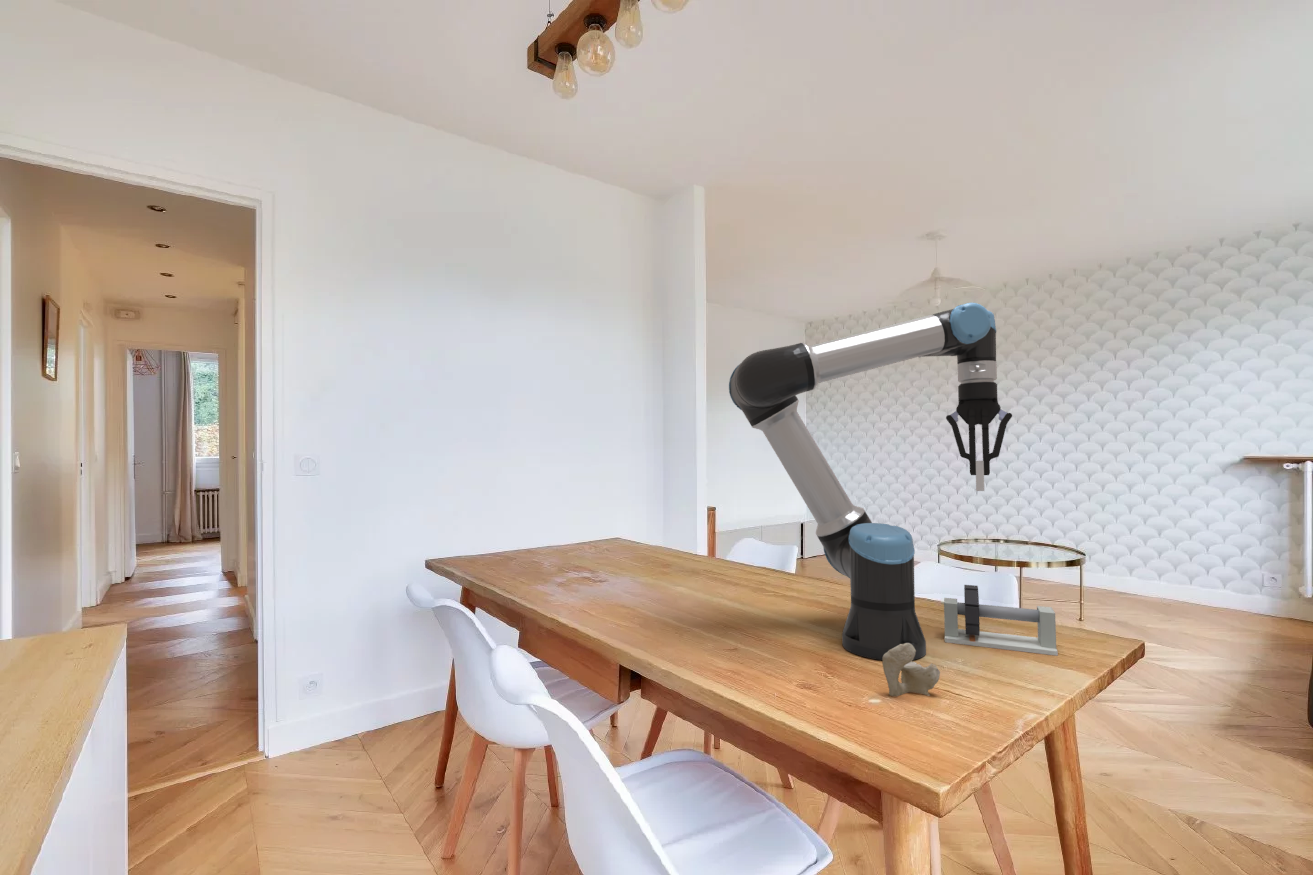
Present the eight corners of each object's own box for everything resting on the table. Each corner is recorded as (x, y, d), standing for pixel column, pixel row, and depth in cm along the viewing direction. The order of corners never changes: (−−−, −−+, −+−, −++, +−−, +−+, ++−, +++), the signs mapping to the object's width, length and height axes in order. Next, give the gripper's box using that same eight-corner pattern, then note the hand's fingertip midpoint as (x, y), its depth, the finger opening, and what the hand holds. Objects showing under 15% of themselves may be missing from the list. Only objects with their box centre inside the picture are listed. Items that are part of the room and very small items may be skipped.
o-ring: (966, 638, 115) (964, 591, 116) (965, 625, 124) (964, 581, 124) (979, 639, 114) (978, 592, 115) (978, 627, 123) (977, 582, 123)
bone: (929, 671, 98) (934, 628, 93) (943, 705, 92) (950, 662, 88) (875, 673, 99) (878, 631, 94) (886, 707, 93) (890, 664, 89)
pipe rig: (944, 642, 118) (943, 604, 118) (945, 631, 125) (944, 595, 125) (1057, 655, 109) (1056, 615, 109) (1051, 643, 116) (1050, 605, 116)
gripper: (943, 382, 129) (946, 491, 128) (1013, 378, 123) (1016, 492, 122) (944, 386, 135) (947, 489, 135) (1010, 382, 130) (1013, 490, 129)
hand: (980, 490), depth 128 cm, fingers closed
